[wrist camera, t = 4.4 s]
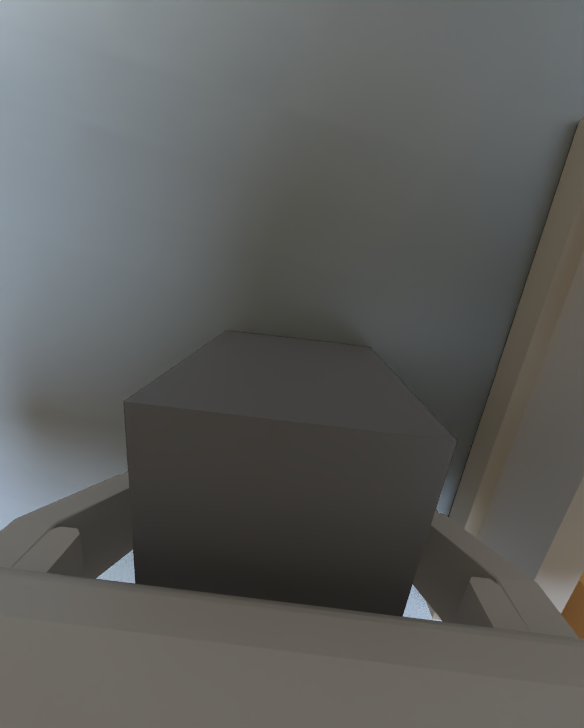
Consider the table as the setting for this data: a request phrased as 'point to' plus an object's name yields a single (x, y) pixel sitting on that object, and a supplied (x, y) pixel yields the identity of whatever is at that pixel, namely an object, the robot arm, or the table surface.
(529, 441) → the rail
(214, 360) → the block
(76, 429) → the table surface
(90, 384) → the table surface
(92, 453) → the table surface
